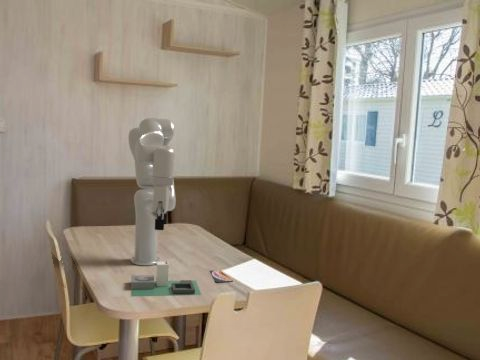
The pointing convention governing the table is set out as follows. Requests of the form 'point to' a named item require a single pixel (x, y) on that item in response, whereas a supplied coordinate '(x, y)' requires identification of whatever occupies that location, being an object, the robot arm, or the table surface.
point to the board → (162, 287)
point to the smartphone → (220, 277)
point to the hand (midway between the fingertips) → (160, 226)
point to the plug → (162, 274)
